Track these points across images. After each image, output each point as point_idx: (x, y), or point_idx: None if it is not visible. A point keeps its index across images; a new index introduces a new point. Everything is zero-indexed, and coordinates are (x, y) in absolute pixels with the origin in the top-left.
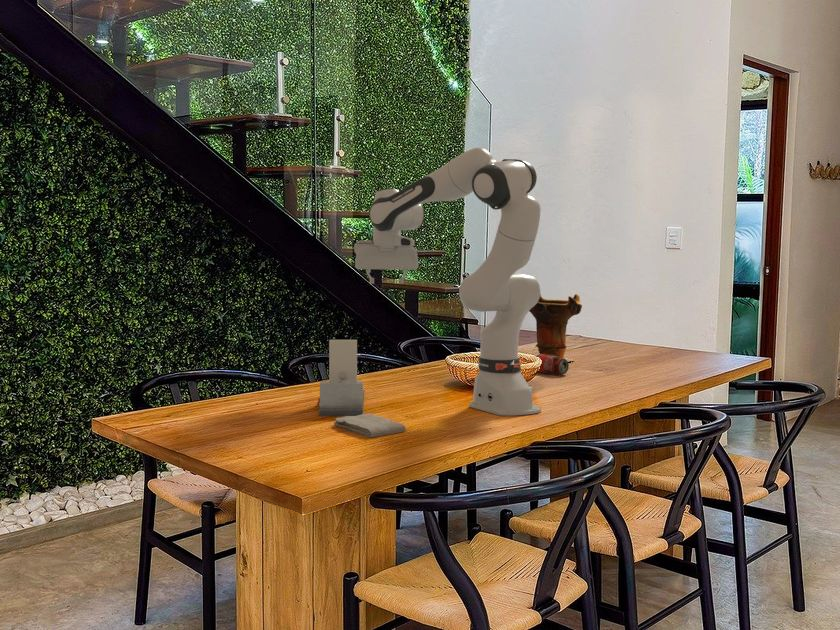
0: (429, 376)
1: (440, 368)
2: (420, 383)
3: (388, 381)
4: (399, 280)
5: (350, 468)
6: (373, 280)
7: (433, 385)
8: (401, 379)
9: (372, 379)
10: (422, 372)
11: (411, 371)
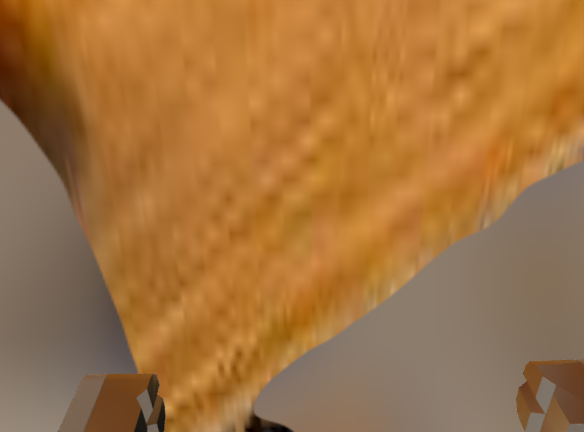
0: (161, 282)
1: None
2: (177, 162)
3: (295, 195)
4: (137, 405)
5: None
6: (563, 389)
7: (124, 125)
8: (251, 231)
9: (351, 227)
10: (191, 340)
11: (227, 353)
